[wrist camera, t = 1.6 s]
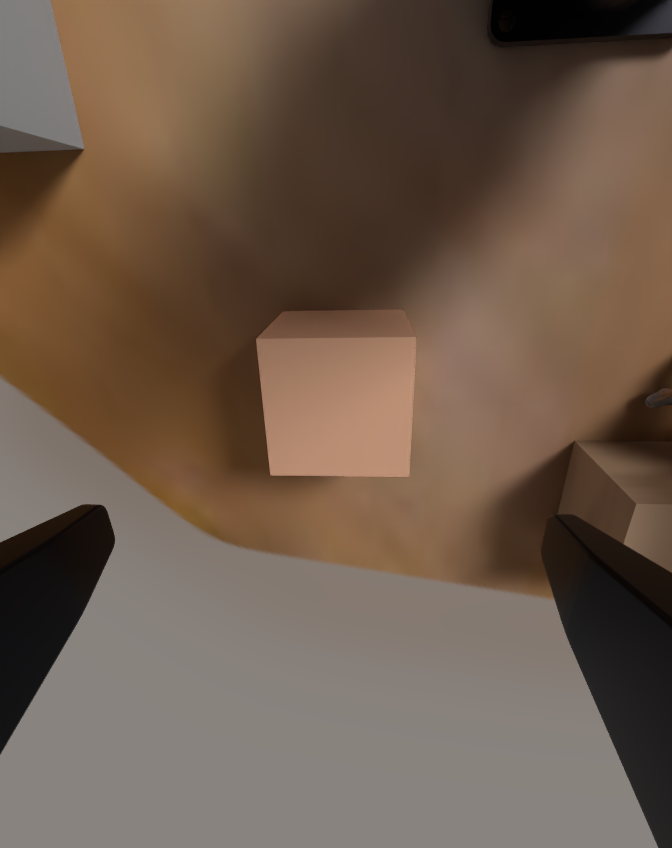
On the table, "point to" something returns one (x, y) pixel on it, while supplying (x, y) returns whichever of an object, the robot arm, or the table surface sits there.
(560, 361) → the table surface
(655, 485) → the walnut block
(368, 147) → the table surface
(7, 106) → the slate grey block
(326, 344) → the terracotta block
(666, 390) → the lion figurine
